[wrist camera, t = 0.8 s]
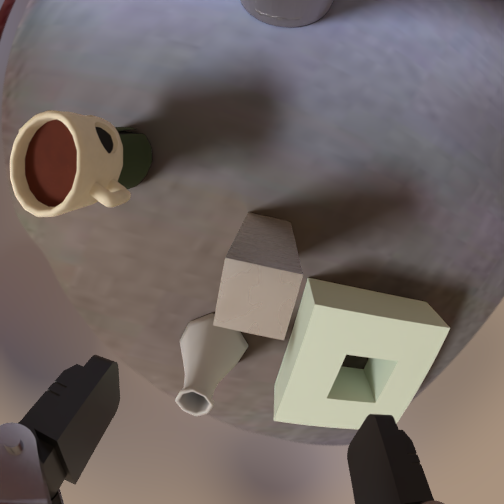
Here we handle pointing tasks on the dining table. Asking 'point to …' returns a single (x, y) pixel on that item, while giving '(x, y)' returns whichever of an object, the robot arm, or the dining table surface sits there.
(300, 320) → the well block
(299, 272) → the rectangular block
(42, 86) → the dining table surface
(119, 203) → the character mug
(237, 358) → the flask
